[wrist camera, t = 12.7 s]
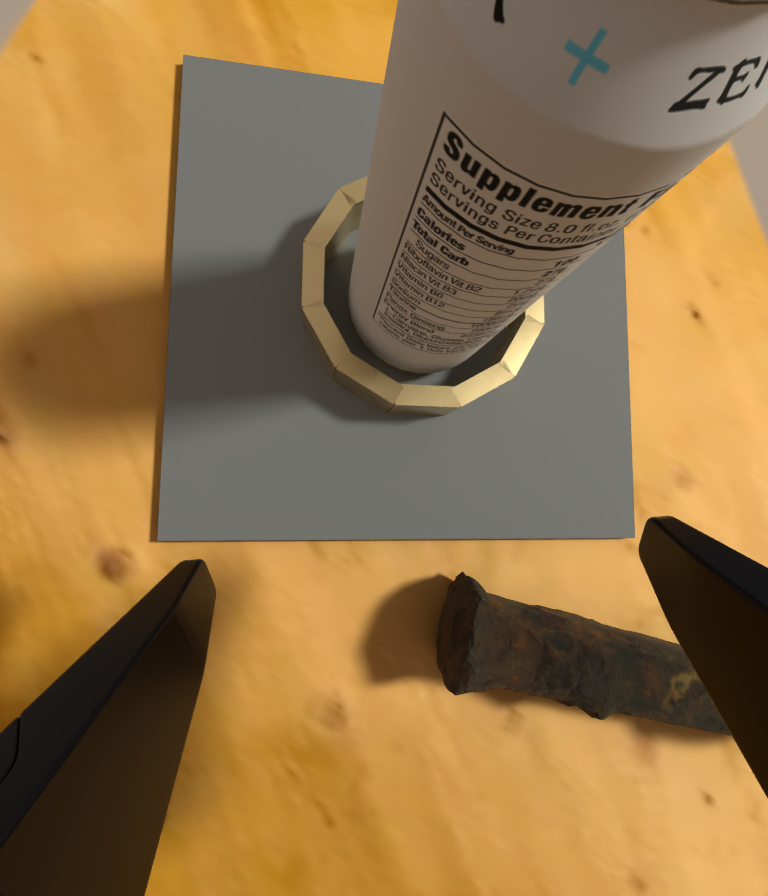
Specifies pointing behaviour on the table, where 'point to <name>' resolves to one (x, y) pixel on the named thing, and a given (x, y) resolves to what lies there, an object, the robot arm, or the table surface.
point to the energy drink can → (532, 151)
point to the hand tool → (566, 660)
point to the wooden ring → (362, 376)
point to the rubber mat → (358, 355)
